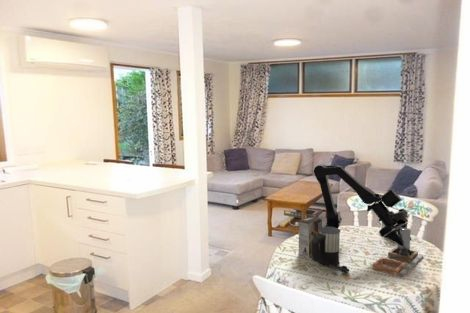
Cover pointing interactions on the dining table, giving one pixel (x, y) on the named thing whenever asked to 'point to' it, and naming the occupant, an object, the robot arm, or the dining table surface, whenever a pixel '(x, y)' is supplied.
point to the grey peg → (404, 241)
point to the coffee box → (308, 234)
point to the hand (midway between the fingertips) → (406, 242)
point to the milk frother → (327, 248)
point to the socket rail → (401, 268)
